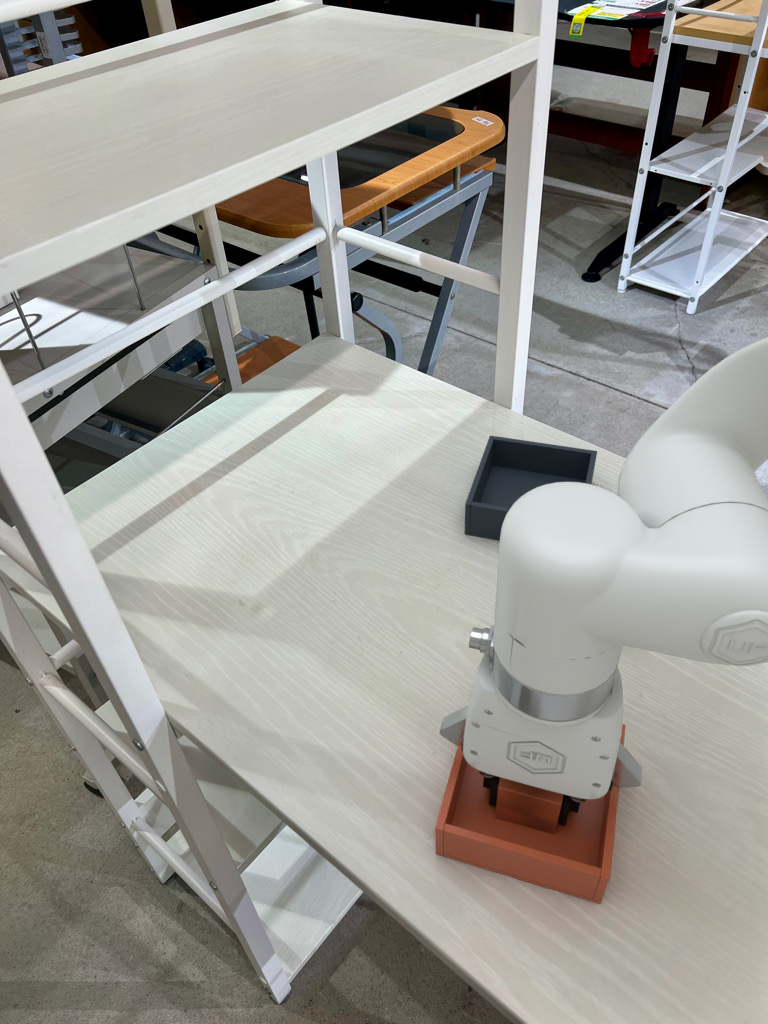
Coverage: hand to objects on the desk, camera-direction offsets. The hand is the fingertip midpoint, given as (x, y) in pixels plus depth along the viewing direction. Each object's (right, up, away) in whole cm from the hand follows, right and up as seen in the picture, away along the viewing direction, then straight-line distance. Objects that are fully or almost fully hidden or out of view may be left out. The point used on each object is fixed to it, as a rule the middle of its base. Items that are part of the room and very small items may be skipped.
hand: (530, 796), depth 58 cm
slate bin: (+5, +23, +25) cm, 35 cm away
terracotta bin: (0, -1, +1) cm, 1 cm away
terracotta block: (0, 0, 0) cm, 0 cm away
